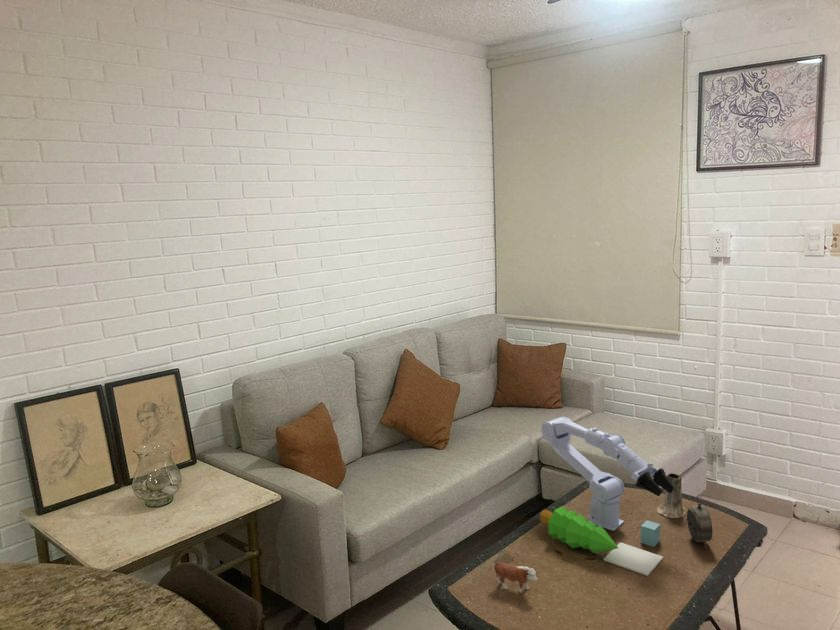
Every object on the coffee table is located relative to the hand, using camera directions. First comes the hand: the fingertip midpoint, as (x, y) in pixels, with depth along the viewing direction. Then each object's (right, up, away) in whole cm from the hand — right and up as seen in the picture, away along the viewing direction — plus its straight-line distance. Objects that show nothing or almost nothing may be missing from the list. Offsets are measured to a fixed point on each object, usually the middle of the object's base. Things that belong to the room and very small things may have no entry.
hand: (666, 492), depth 208 cm
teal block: (-2, -19, +9) cm, 21 cm away
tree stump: (+12, -14, +28) cm, 33 cm away
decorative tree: (-26, -20, +7) cm, 34 cm away
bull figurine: (-49, -25, -14) cm, 56 cm away
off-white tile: (-11, -21, -1) cm, 23 cm away
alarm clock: (+13, -18, +8) cm, 24 cm away
